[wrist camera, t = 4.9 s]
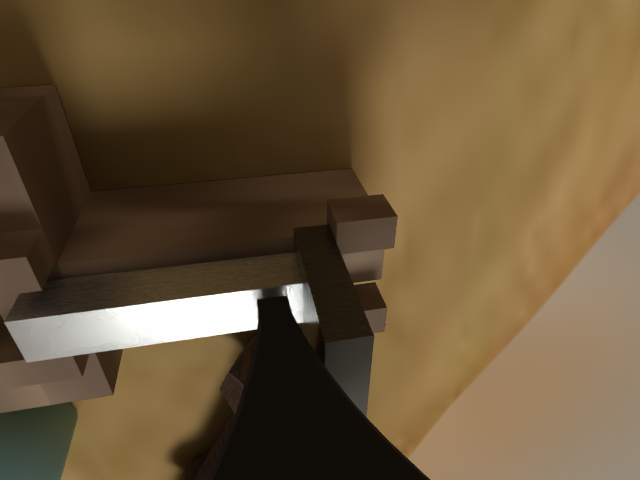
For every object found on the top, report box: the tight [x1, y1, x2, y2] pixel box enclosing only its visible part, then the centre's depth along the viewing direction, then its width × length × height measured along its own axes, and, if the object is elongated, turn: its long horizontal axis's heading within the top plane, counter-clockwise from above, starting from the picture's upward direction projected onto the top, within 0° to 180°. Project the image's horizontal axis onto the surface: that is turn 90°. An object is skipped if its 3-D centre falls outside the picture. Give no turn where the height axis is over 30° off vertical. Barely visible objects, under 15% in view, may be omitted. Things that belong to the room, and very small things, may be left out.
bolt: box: [180, 334, 256, 480], centre depth 22 cm, size 6×5×15 cm
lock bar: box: [4, 224, 374, 416], centre depth 11 cm, size 8×3×4 cm, turn 90°
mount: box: [0, 85, 398, 413], centre depth 13 cm, size 18×9×5 cm, turn 90°
